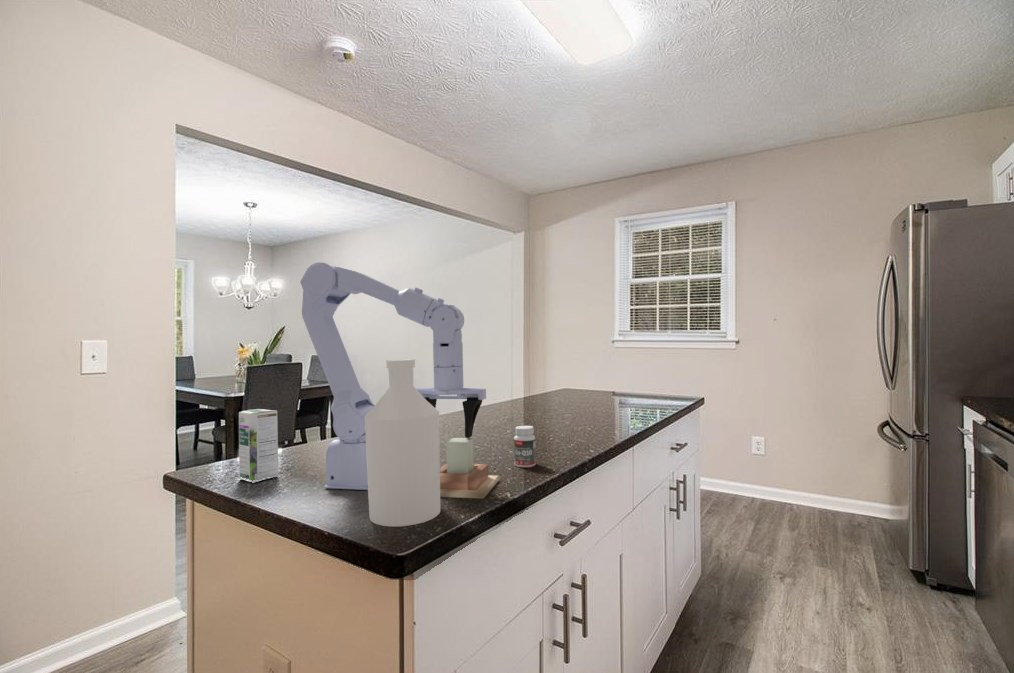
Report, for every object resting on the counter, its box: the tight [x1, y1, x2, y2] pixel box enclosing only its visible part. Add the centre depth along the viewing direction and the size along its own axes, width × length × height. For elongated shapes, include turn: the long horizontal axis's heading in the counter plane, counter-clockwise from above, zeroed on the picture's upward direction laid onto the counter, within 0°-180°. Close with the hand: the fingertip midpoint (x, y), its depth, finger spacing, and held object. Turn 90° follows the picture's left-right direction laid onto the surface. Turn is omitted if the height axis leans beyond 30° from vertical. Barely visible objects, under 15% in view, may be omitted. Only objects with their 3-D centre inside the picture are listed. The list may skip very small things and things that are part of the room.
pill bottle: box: [513, 425, 537, 468], centre depth 108 cm, size 5×5×8 cm
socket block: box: [440, 462, 500, 500], centre depth 92 cm, size 12×11×4 cm
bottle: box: [365, 358, 441, 527], centre depth 80 cm, size 12×12×25 cm
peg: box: [445, 437, 475, 474], centre depth 93 cm, size 4×4×8 cm
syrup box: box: [238, 408, 279, 481], centre depth 103 cm, size 6×6×14 cm
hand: (449, 436), depth 95 cm, fingers open, 7 cm apart
